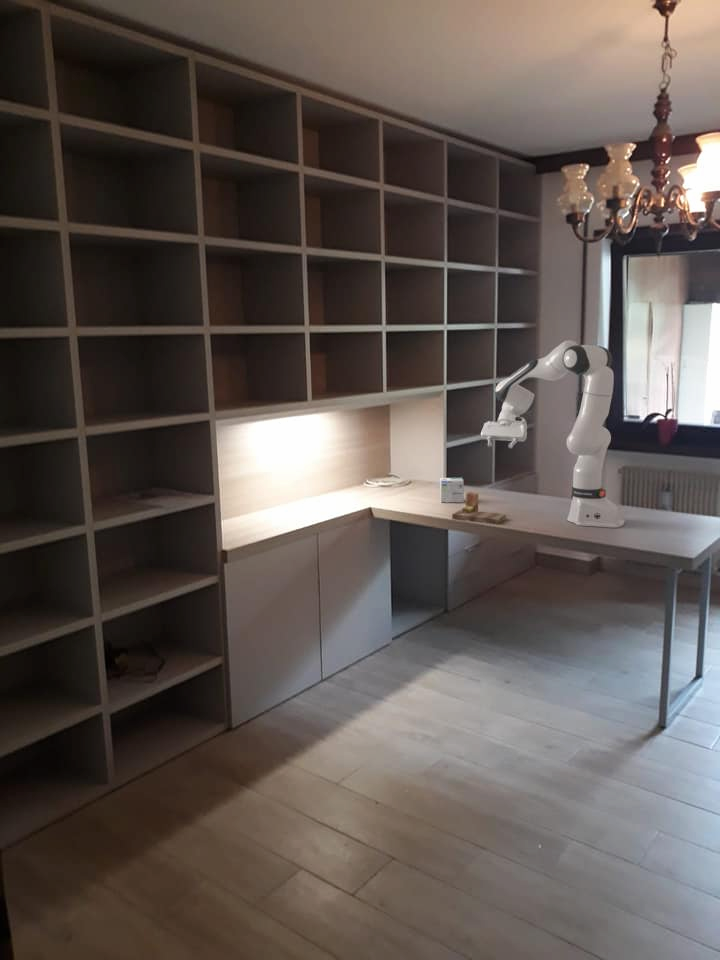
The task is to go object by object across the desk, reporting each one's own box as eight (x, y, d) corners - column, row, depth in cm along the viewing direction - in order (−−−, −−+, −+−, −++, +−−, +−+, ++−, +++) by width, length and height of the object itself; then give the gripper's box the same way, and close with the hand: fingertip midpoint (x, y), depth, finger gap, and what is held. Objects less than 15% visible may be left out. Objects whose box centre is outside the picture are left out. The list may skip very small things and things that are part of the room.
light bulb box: (462, 500, 363) (462, 477, 361) (463, 503, 356) (464, 480, 354) (439, 500, 363) (439, 477, 361) (440, 503, 356) (440, 480, 354)
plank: (505, 519, 326) (505, 514, 325) (497, 524, 317) (498, 519, 317) (461, 514, 335) (461, 509, 335) (452, 518, 327) (452, 514, 326)
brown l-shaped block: (477, 513, 336) (478, 493, 334) (470, 518, 328) (470, 497, 326) (469, 512, 338) (469, 492, 336) (461, 517, 330) (461, 496, 328)
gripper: (483, 416, 351) (475, 440, 345) (528, 418, 341) (520, 443, 335) (486, 425, 356) (478, 449, 349) (530, 427, 346) (523, 452, 340)
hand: (499, 446), depth 342 cm, fingers open, 8 cm apart
